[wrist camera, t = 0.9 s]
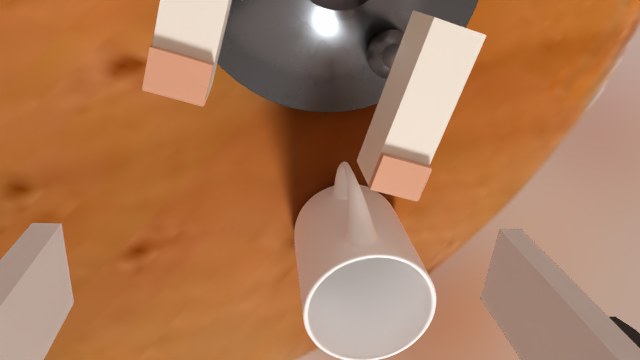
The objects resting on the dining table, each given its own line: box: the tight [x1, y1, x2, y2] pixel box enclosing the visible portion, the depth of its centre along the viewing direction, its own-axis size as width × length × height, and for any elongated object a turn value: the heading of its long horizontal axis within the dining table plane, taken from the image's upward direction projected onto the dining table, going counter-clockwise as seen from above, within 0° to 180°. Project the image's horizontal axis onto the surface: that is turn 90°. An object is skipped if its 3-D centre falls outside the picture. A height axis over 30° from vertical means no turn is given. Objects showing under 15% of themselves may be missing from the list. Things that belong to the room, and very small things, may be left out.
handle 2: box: [357, 10, 486, 202], centre depth 28 cm, size 9×3×9 cm, turn 162°
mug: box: [294, 162, 436, 360], centre depth 34 cm, size 9×12×11 cm
